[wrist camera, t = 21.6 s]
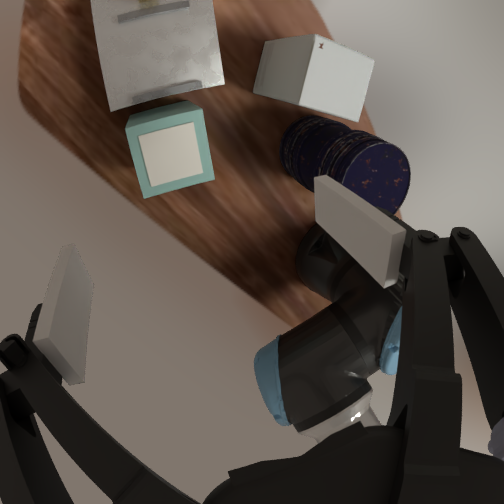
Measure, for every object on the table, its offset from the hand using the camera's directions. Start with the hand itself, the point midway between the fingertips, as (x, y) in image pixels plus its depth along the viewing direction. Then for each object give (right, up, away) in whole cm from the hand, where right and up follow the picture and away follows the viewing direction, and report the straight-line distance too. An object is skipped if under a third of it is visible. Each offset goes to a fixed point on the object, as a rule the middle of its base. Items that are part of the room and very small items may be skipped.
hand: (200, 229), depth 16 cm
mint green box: (-8, +13, +19) cm, 24 cm away
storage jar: (+11, +13, +26) cm, 31 cm away
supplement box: (+7, +21, +19) cm, 30 cm away
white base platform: (-9, +27, +9) cm, 30 cm away
